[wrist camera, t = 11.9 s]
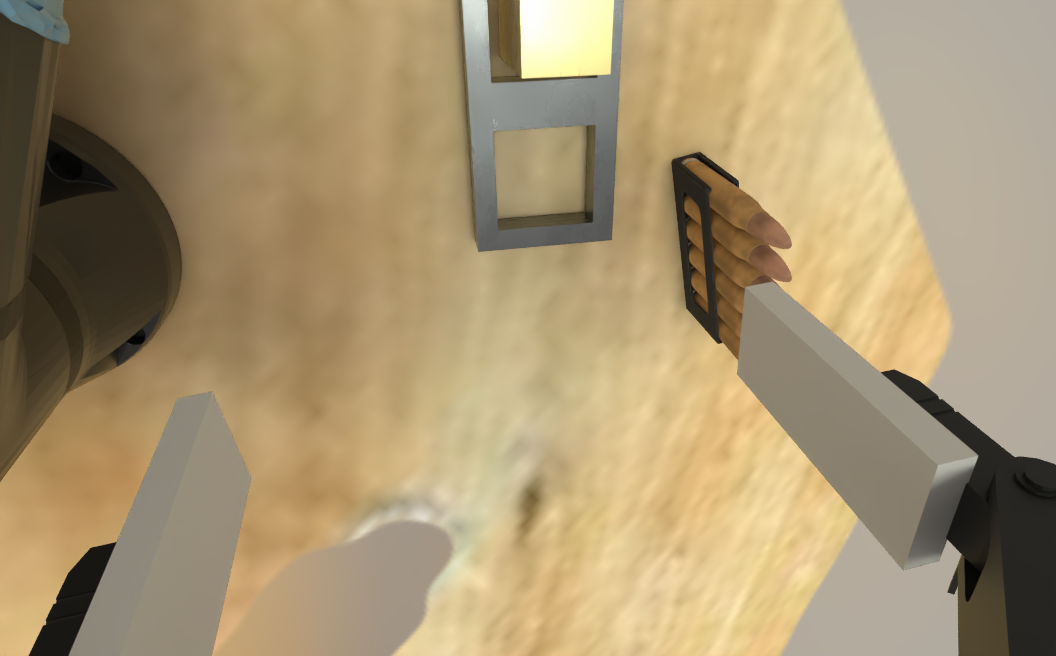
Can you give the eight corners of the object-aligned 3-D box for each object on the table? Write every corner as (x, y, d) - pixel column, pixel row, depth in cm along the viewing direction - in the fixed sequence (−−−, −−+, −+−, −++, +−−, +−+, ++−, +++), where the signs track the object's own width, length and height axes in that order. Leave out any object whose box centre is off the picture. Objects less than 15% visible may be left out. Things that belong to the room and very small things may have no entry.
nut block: (500, 56, 34) (521, 78, 28) (497, -30, 32) (519, -27, 26) (573, 53, 34) (610, 74, 29) (575, -32, 32) (615, -29, 27)
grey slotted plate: (475, 239, 39) (478, 251, 37) (439, -299, 27) (441, -315, 25) (603, 229, 40) (611, 240, 38) (625, -293, 28) (638, -308, 26)
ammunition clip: (671, 159, 38) (769, 232, 28) (700, 151, 38) (809, 221, 28) (686, 309, 44) (773, 416, 34) (712, 301, 44) (806, 406, 34)
